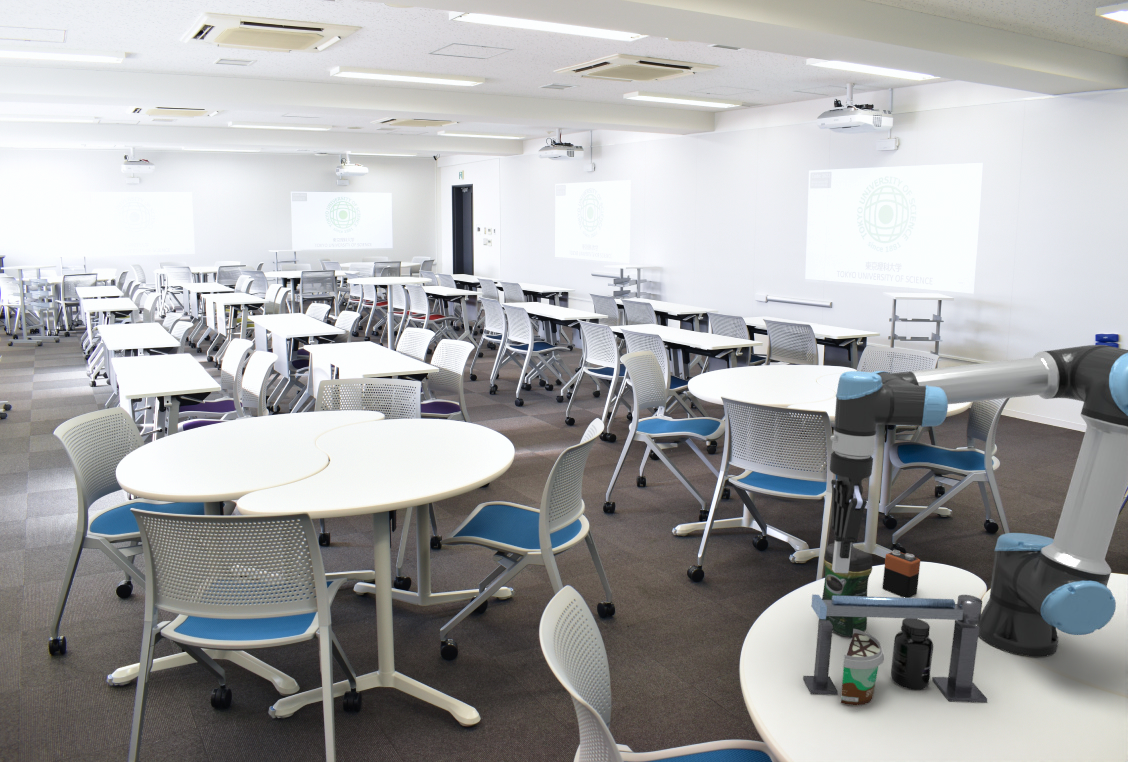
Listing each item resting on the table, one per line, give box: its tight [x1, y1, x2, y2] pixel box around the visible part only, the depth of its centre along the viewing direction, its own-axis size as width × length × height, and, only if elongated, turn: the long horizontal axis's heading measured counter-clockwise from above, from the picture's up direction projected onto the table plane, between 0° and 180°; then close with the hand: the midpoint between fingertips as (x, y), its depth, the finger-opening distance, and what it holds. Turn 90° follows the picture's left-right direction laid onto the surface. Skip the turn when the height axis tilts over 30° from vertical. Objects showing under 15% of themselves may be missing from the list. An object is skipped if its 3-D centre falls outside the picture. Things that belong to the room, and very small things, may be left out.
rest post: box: [802, 619, 839, 696], centre depth 147 cm, size 5×5×13 cm
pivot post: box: [931, 620, 988, 704], centre depth 147 cm, size 7×7×14 cm
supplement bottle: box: [890, 618, 934, 691], centre depth 150 cm, size 7×7×12 cm
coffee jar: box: [818, 542, 873, 637], centre depth 170 cm, size 10×8×19 cm
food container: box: [840, 629, 885, 706], centre depth 145 cm, size 12×6×10 cm, turn 152°
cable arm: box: [810, 593, 983, 626], centre depth 146 cm, size 30×5×4 cm, turn 89°
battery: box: [882, 549, 921, 598], centre depth 190 cm, size 4×7×10 cm, turn 36°
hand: (840, 571), depth 153 cm, fingers closed
